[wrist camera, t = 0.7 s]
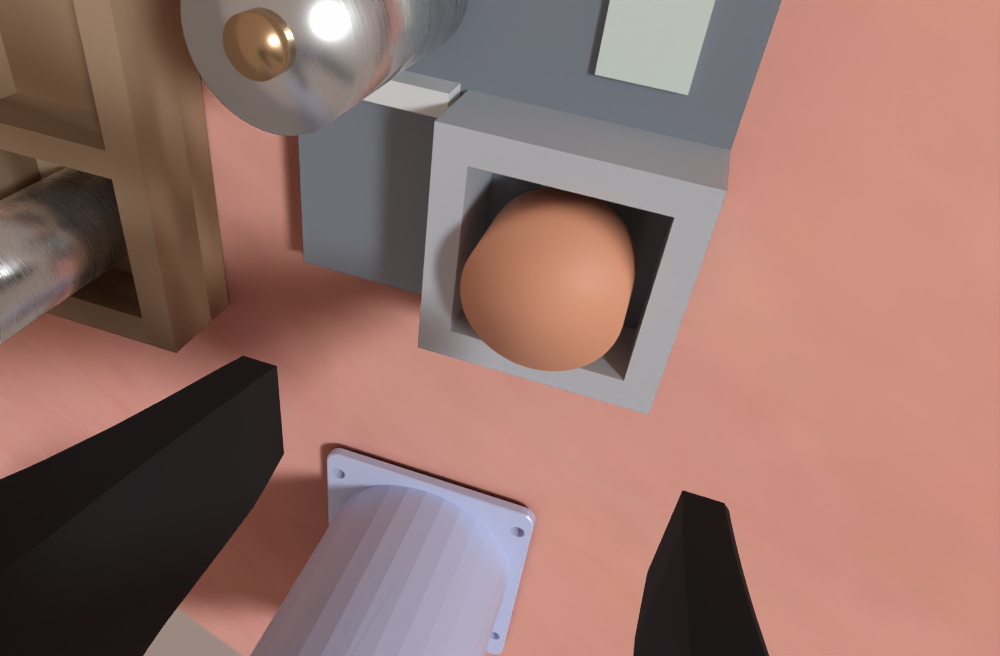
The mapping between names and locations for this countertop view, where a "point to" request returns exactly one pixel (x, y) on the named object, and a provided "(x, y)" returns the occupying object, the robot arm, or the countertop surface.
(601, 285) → the button
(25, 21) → the wooden divided tray
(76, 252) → the cell
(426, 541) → the robot arm
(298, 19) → the cylinder
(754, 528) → the countertop surface
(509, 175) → the grey board with box
